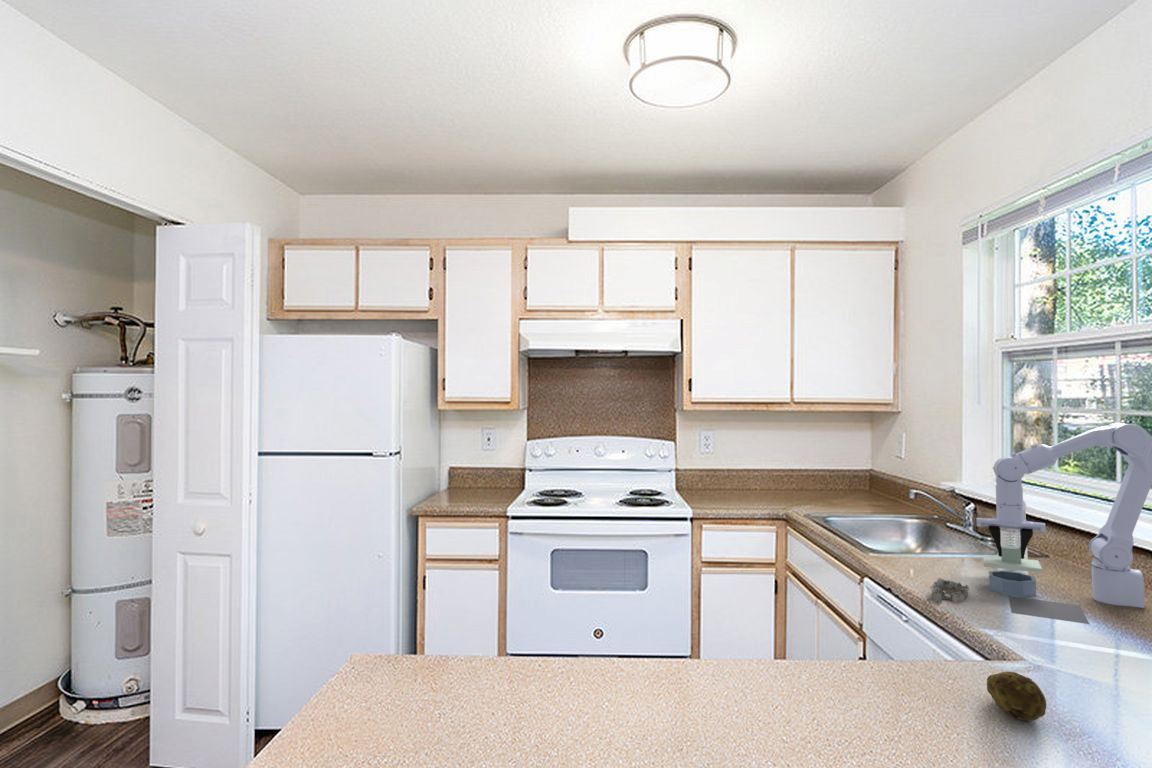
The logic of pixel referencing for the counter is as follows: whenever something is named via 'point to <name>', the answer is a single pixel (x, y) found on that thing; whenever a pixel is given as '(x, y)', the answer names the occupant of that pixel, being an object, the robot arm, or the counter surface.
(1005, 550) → the lid
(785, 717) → the counter surface
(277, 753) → the counter surface
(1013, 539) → the water bottle
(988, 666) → the counter surface
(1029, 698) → the potato
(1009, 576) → the bowl
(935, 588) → the egg carton
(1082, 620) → the mat
